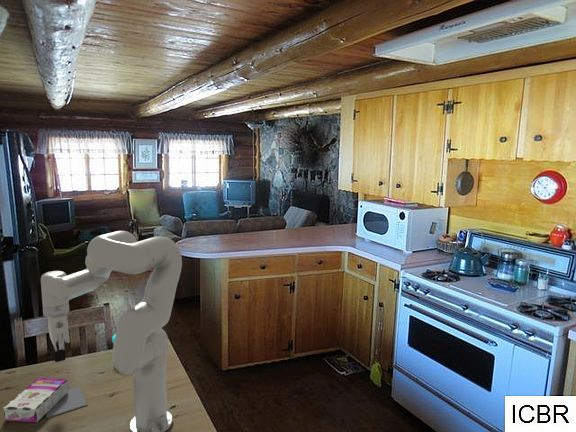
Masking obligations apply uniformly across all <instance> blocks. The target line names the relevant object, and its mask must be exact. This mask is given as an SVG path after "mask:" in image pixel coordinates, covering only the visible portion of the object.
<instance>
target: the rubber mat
mask: <svg viewBox="0 0 576 432" xmlns="http://www.w3.org/2000/svg"><path fill="white" fill-rule="evenodd" d="M86 406H87V407H88V403H87V400H86V398H85V396H84V394H83V391H82V389H81V387H80V386H76V387H72V388H69V391H68V393H66V394H65V395H64V396H63V397H62V398H61V399H60V400H59V401H58V402H57V403H56V404H55V405H54V406H53V407H52V408H51V409H50V410H49V411H48V412H47V413H46V414H45V415H44V416H45V418H46V419H50V418H52V417H55V416H59V415H62V414H65V413H69V412H71V411H75V410H77V409H81V408H83V407H86Z"/></svg>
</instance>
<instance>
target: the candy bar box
mask: <svg viewBox="0 0 576 432" xmlns="http://www.w3.org/2000/svg"><path fill="white" fill-rule="evenodd" d="M69 389H70V388H69V383H68V378H67V379H63V378H47V377H45V378H44V377H37V378H36V379H35V380H34V381H33V382H31V384H30V385H28V386H27V387H26V388H25V389H24V390H22V391H20V393H18V394H17V395H16V396H15V397H14V398H13V399H12V400H10V401H9V402H8V403H6V405H4V406H2V410H3V416H4V420H5V421H6V422H8V421H9V422H21V423H22V422H24V423H25V422H26V423H38V422H39V421H41V419H42V418H43V417H44V416H46V415H45V414H46V413H47V412H48V411H49V410H50V409H51V408H52V407H53V406H54V405H55V404H56V403H57V402H58V401H59V400H60V399H61V398H62V397H63V396H64V395H65V394H66V393H68V391H69Z"/></svg>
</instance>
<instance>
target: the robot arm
mask: <svg viewBox="0 0 576 432" xmlns="http://www.w3.org/2000/svg"><path fill="white" fill-rule="evenodd" d="M86 252H87V255H86V256H85V266H86V268H84V269H81V270H80V271H77V272H76V271H75V272H73V273H70V274H68V275H67V273H66V272H64V271H63V270H62V271H61V270H53V271H52V270H51V271H47V272H45V273H43V274H41V277H40V286H41V287H40V288H41V301H42V313H43V316H44V317H45V318H47V325H48V333H49V338H50V341H51V343H52V345H53V351H52V352H53V360H54V363H58V362H63V361H66V360H67V359H66V348H65V343H67V344H69V343H70V341H71V340H70V339H71V338H70V331H69V321H68V316H67V314H68V313H69V312H70V304H69V303H70V302H69V301H70V300H72V299H74V298H77V297H80V296H83V295H85V294H86V293H90V292H92V291H94V290H95V289H97V288H98V287H100V286H101V285H102V284H104V283H105V282H107V280H108V279H109V277H110V275H111V272H112V271H115V272H119V273H121V274H122V273H123V274H128V275H138V274H139V275H140V274H141V273H144V272H146V271H150V270H152V269H153V271H152V273H151V274H150V276H149V277H148V280H147V282H146V285H145V290H144V295H143V297H142V299H141V300H140V302H138V303H136V304H134V305H133V306H131V307H129V308H128V309H126V310H125V311H124V312H122V314H121V316H120V317H119V320H118V322H117V326H116V327H117V328H116V332H115V334H116V336H115V341H114V343H113V346H112V351H111V352H112V354H111V356H112V363H113V366H114V368H115V370H116V371H117V372H118V373H120V374H121V375H125V376H126V375H128V376H129V375H132V374H133V379H132V380H133V402H134V403H133V404H134V405H133V407H134V417H133V418H132V419H131V420H130V423H129V431H130V432H166V431H168V430H169V428H171V426H172V424H173V415H172V413H170V411H168V406H167V405H168V403H167V401H168V399H167V358H168V351H169V337H168V334H167V333H166V331H165V330H164V329H163V327H165V326H166V325H167V324H168V322H169V321H170V317H171V314H172V311H173V305H174V301H175V296H176V291H177V287H178V285H179V284H178V283H179V280H180V275H181V272H182V267H183V259H182V258H183V257H182V253H181V251H180V248H179V247H178V245H177V244H176V242H174V240H172V239H171V238H169V237H166V236H160V235H159V236H152V237H150V238H149V237H148V238H146V239H143V240H139V241H137V239H136V237H135V235H134V234H133V233H131V232H130V231H126V230H116V231H113V232H109V233H105V234H100V235H97V236H95V237H94V238H92V239H91V240H90V241H89V243H88V245H87V250H86Z"/></svg>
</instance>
